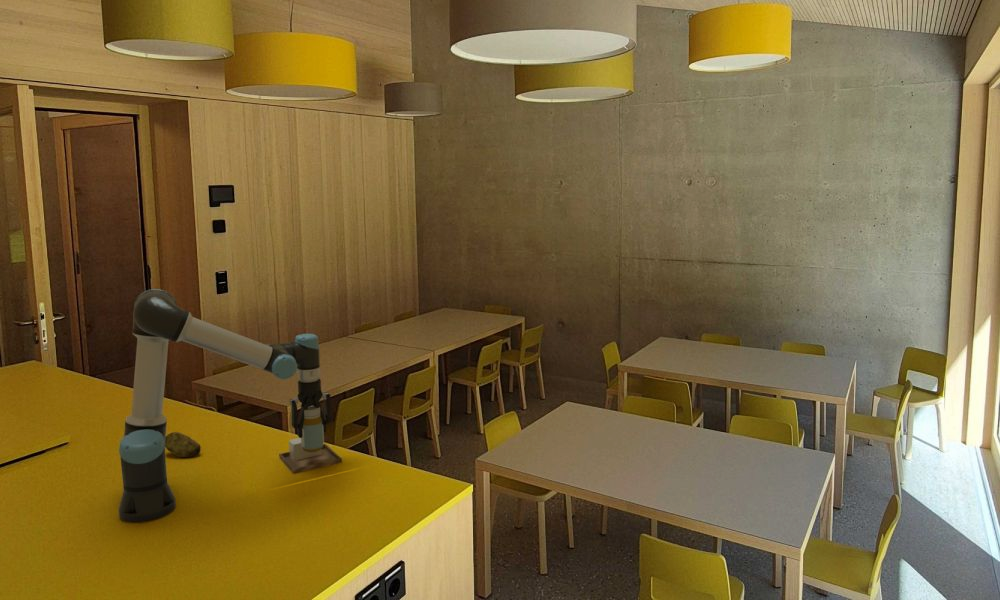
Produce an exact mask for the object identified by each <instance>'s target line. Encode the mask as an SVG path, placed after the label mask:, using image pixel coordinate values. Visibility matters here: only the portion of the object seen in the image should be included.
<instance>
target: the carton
mask: <svg viewBox="0 0 1000 600" xmlns="http://www.w3.org/2000/svg"><path fill="white" fill-rule="evenodd" d="M288 447H289V448H288V449H289V451H288V452H290V457H291V458H292V459H293V460H294V461H296V460H300V459H305V458H309V457H314V456H318V455H322V449H321V450H319V451H316V452H306V451H304V450H303V448H302V445H301V438H299V437H298V438H297V437H296V438H292V439H288Z"/></svg>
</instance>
